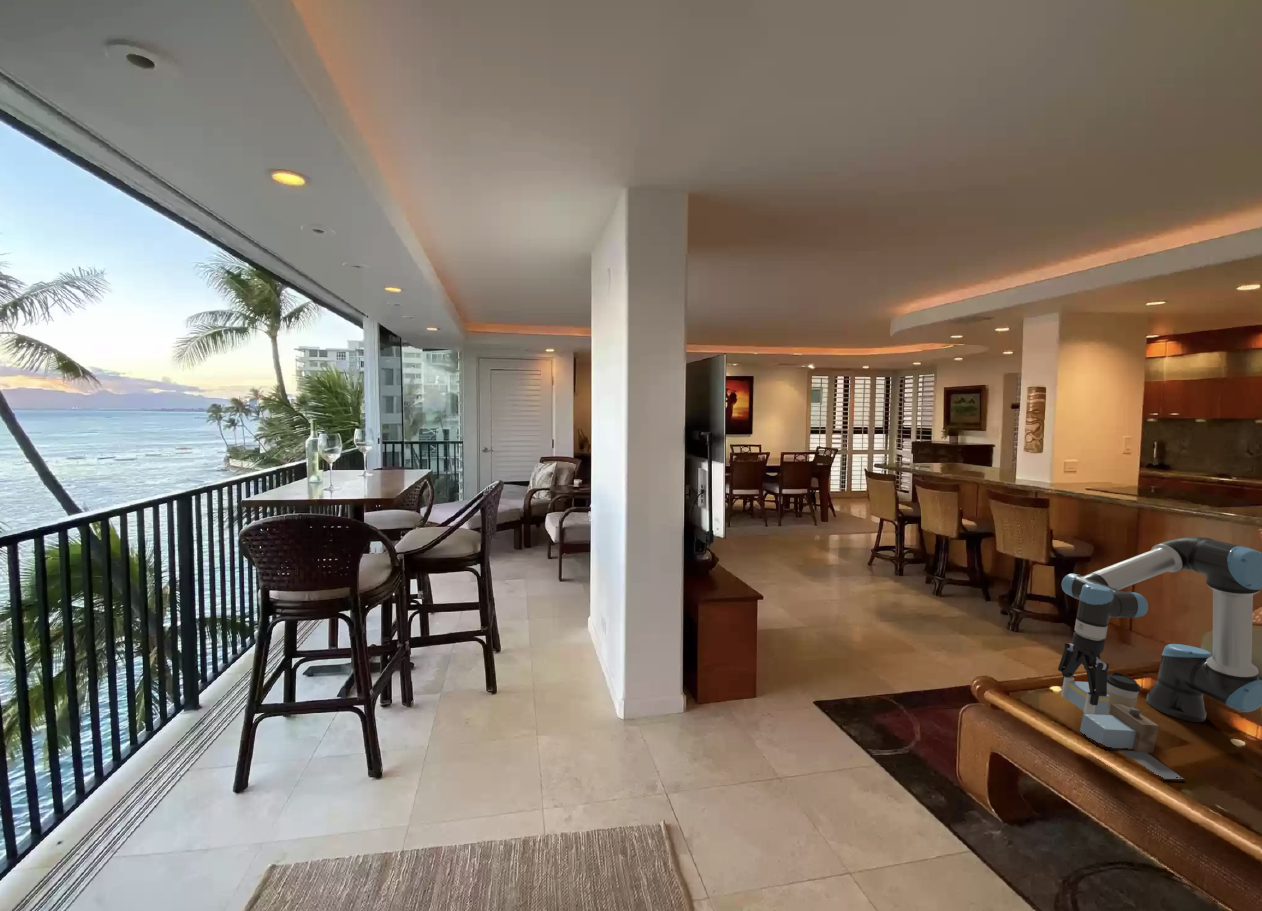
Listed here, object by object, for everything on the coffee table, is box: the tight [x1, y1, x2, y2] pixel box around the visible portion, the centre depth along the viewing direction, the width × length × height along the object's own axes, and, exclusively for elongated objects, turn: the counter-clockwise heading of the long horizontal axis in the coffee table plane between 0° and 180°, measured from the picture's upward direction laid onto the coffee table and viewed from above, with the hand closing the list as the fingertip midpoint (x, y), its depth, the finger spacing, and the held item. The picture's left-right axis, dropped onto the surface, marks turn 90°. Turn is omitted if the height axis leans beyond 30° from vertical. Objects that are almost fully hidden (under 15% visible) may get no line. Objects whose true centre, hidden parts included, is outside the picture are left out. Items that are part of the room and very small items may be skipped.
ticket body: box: [1079, 713, 1136, 750], centre depth 177 cm, size 14×8×6 cm, turn 92°
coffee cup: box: [1101, 671, 1141, 715], centre depth 189 cm, size 9×9×15 cm
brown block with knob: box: [1109, 704, 1160, 754], centre depth 177 cm, size 5×11×11 cm, turn 2°
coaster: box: [1117, 749, 1184, 779], centre depth 165 cm, size 12×12×1 cm
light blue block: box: [1065, 680, 1110, 715], centre depth 175 cm, size 6×8×6 cm
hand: (1077, 704), depth 175 cm, fingers closed on light blue block, 8 cm apart
